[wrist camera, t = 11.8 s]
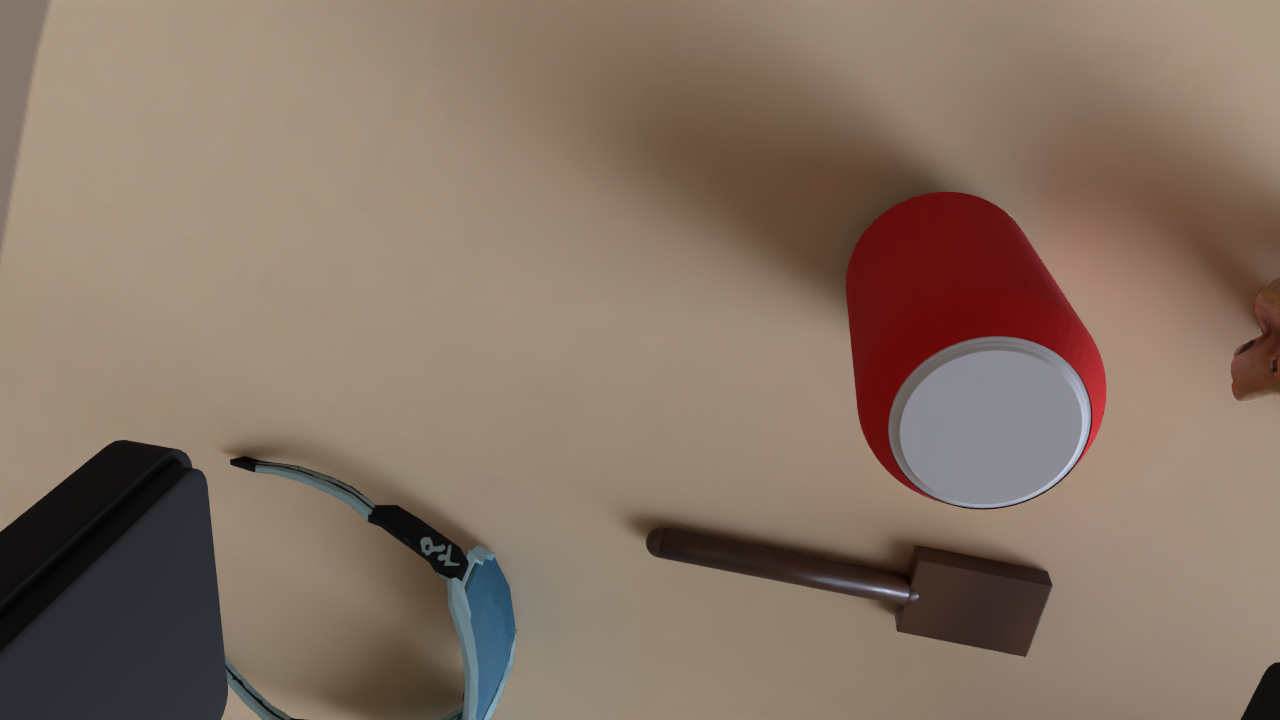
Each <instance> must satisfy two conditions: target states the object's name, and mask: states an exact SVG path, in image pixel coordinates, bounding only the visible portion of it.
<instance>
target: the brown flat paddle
mask: <svg viewBox="0 0 1280 720" xmlns="http://www.w3.org/2000/svg"><path fill="white" fill-rule="evenodd" d="M646 547H647V549H648V551H649V552H650V554H652V555H653V556H655V557H658V558H663V559H669V560H674V561H679V562H684V563H689V564H694V565H699V566H704V567H709V568H715V569H720V570H725V571H730V572H735V573H740V574H745V575H750V576H755V577H760V578H766V579H771V580H776V581H781V582H786V583H791V584H796V585H801V586H806V587H812V588H817V589H822V590H827V591H832V592H837V593H842V594H847V595H852V596H858V597H863V598H868V599H873V600H878V601H883V602H888V603H893V604H898V608H897V611H896V614H895V620H896V628H897V631H898V632H903V633H908V634H913V635H918V636H923V637H928V638H933V639H938V640H943V641H948V642H953V643H958V644H963V645H968V646H973V647H978V648H983V649H989V650H994V651H999V652H1004V653H1009V654H1014V655H1019V656H1024V657H1026V656H1027V653H1028V651H1029V648H1030V645H1031V643H1032V640H1033V637H1034V635H1035V632H1036V629H1037V627H1038V624H1039V621H1040V619H1041V616H1042V613H1043V611H1044V608H1045V605H1046V603H1047V600H1048V597H1049V595H1050V592H1051V589H1052V587H1053V585H1052V582H1051V580H1050V577H1049V574H1048V572H1047V571H1044V570H1039V569H1034V568H1029V567H1023V566H1018V565H1013V564H1008V563H1003V562H997V561H992V560H987V559H982V558H976V557H971V556H966V555H961V554H955V553H950V552H945V551H940V550H934V549H929V548H924V547H919V546H916V547H915V550H914V554H913V557H912V560H911V564H910V567H909V570H908V574H907V575H903V574H898V573H893V572H888V571H883V570H878V569H872V568H867V567H862V566H857V565H852V564H846V563H841V562H836V561H831V560H826V559H821V558H815V557H810V556H805V555H800V554H795V553H790V552H784V551H779V550H774V549H769V548H764V547H759V546H753V545H748V544H743V543H738V542H733V541H727V540H722V539H717V538H712V537H707V536H702V535H696V534H691V533H686V532H681V531H676V530H671V529H665V528H656V529H654V530H652V531H651V532H650V533H649V534H648V536H647V539H646Z"/></svg>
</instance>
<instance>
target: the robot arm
mask: <svg viewBox="0 0 1280 720" xmlns="http://www.w3.org/2000/svg"><path fill="white" fill-rule="evenodd" d="M227 696H228V683H227V673H226V664H225V654H224V644H223V634H222V624H221V614H220V605H219V595H218V585H217V575H216V565H215V555H214V546H213V536H212V526H211V516H210V506H209V496H208V486H207V481H206V477H205V475H204V474H203V472H202V471H200V470H198V469H193V468H192V464H191V460H190V459H189V457H188V456H187V454H186V453H185V452H183V451H181V450H178V449H173V448H167V447H161V446H156V445H150V444H144V443H139V442H133V441H127V440H119V441H114V442H113V443H111V444H109V445H108V446H106V447H105V448H103V449H102V450H101V451H100V452H99V453H97V454H96V455H95V456H94V457H92V458H91V459H90V460H89V461H87V462H86V463H85V464H84V465H83V466H81V467H80V468H79V469H78V470H76V471H75V472H74V473H73V474H71V475H70V476H69V477H68V478H67V479H65V480H64V481H63V482H62V483H60V484H59V485H58V486H57V487H55V488H54V489H53V490H52V491H50V492H49V493H48V494H47V495H46V496H44V497H43V498H42V499H41V500H39V501H38V502H37V503H36V504H34V505H33V506H32V507H31V508H30V509H28V510H27V511H26V512H25V513H23V514H22V515H21V516H20V517H18V518H17V519H16V520H15V521H14V522H12V523H11V524H10V525H9V526H7V527H6V528H5V529H4V530H2V531H1V532H0V720H221V718H222V716H223V713H224V710H225V706H226V702H227ZM1241 720H1280V662H1278V663H1274V664H1272V665H1271V666H1269V667H1268V669H1267V670H1266V672H1265V673H1264V675H1263V677H1262V679H1261V681H1260V683H1259V685H1258V687H1257V689H1256V691H1255V692H1254V694H1253V696H1252V698H1251V700H1250V702H1249V704H1248V706H1247V708H1246V710H1245V712H1244V714H1243V716H1242V718H1241Z"/></svg>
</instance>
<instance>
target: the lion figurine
mask: <svg viewBox="0 0 1280 720" xmlns="http://www.w3.org/2000/svg"><path fill="white" fill-rule="evenodd" d="M1255 305H1256V308H1255V311H1254V312H1255V314H1256V315H1257V317H1258V319H1259V323H1260V325H1261V331H1262V332H1263V335H1262V336H1260V337H1258V338H1256V339H1253V340H1251V341H1249V342H1248V343H1246V344H1244V345H1241V346H1240V347H1239V348H1237V350H1236V352H1235V353H1234V359H1233V361H1232V363H1231V374H1232V379H1233V383H1232V391H1233V394H1234V397H1235V398H1236V399H1237V400H1239V401H1241V402H1247V403H1248V402H1251V401H1255V400H1258V399H1262V398H1265V397H1271V396H1277V395H1280V278H1279V279H1277V280H1274V281H1273V282H1271V283H1270V284H1269V285H1268V286H1267V287H1264V288H1262V289H1261V290H1260V294H1259V295H1258V297H1257V299H1256V301H1255Z"/></svg>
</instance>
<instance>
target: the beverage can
mask: <svg viewBox="0 0 1280 720" xmlns="http://www.w3.org/2000/svg"><path fill="white" fill-rule="evenodd" d="M846 296H847V306H848V316H849V326H850V337H851V347H852V357H853V367H854V377H855V388H856V398H857V408H858V415H859V420H860V424H861V427H862V431H863V434H864V436H865V438H866V440H867V442H868V445H869V446H870V448H871V450H872V451H873V453H874V455H875V456H876V458H877V459H878V460H879V462H880V463H881V464H882V465H883V466H884V468H885V469H886V470H887V471H888V472H889V473H890V474H891V475H892V476H894V477H895V478H896V479H897V480H898V481H900V482H901V483H902V484H904V485H905V486H907V487H908V488H910V489H911V490H913V491H915V492H917V493H919V494H921V495H923V496H925V497H928V498H930V499H933V500H936V501H939V502H942V503H946V504H949V505H953V506H957V507H962V508H969V509H997V508H1005V507H1009V506H1013V505H1017V504H1020V503H1023V502H1026V501H1029V500H1031V499H1033V498H1035V497H1037V496H1039V495H1041V494H1043V493H1045V492H1046V491H1048V490H1050V489H1051V488H1053V487H1054V486H1055V485H1056V484H1058V483H1059V482H1060V481H1061V480H1062V479H1063V478H1065V477H1066V476H1067V475H1068V474H1069V472H1070V471H1071V470H1072V469H1073V468H1074V467H1075V466H1076V465H1077V463H1078V462H1079V461H1080V460H1081V459H1082V458H1083V456H1084V455H1085V453H1086V452H1087V451H1088V449H1089V448H1090V446H1091V444H1092V442H1093V441H1094V439H1095V437H1096V435H1097V432H1098V430H1099V428H1100V425H1101V421H1102V418H1103V415H1104V409H1105V403H1106V378H1105V371H1104V367H1103V362H1102V359H1101V356H1100V353H1099V351H1098V348H1097V346H1096V344H1095V342H1094V341H1093V339H1092V337H1091V335H1090V334H1089V332H1088V331H1087V329H1086V328H1085V326H1084V325H1083V323H1082V322H1081V320H1080V319H1079V317H1078V315H1077V314H1076V312H1075V311H1074V309H1073V308H1072V306H1071V305H1070V303H1069V302H1068V300H1067V299H1066V297H1065V296H1064V294H1063V293H1062V291H1061V289H1060V288H1059V286H1058V285H1057V283H1056V282H1055V280H1054V279H1053V277H1052V276H1051V274H1050V273H1049V271H1048V270H1047V268H1046V267H1045V265H1044V263H1043V262H1042V260H1041V259H1040V257H1039V256H1038V254H1037V253H1036V251H1035V250H1034V248H1033V247H1032V245H1031V244H1030V242H1029V241H1028V239H1027V237H1026V236H1025V234H1024V233H1023V231H1022V230H1021V228H1020V227H1019V225H1018V224H1017V223H1016V222H1015V221H1014V220H1013V218H1011V217H1010V216H1009V215H1008V214H1007V213H1006V212H1005V211H1003V210H1002V209H1001V208H999V207H998V206H996V205H994V204H993V203H991V202H989V201H987V200H984V199H982V198H980V197H976V196H973V195H969V194H964V193H957V192H937V193H929V194H924V195H920V196H917V197H913V198H910V199H908V200H906V201H903V202H901V203H899V204H897V205H895V206H894V207H892V208H890V209H889V210H887V211H886V212H884V213H883V214H882V215H881V216H879V217H878V218H877V219H876V220H875V221H874V222H873V223H872V224H871V225H870V226H869V227H868V228H867V229H866V231H865V232H864V233H863V235H862V236H861V238H860V239H859V241H858V242H857V244H856V246H855V248H854V250H853V252H852V255H851V257H850V261H849V264H848V268H847V275H846Z"/></svg>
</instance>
